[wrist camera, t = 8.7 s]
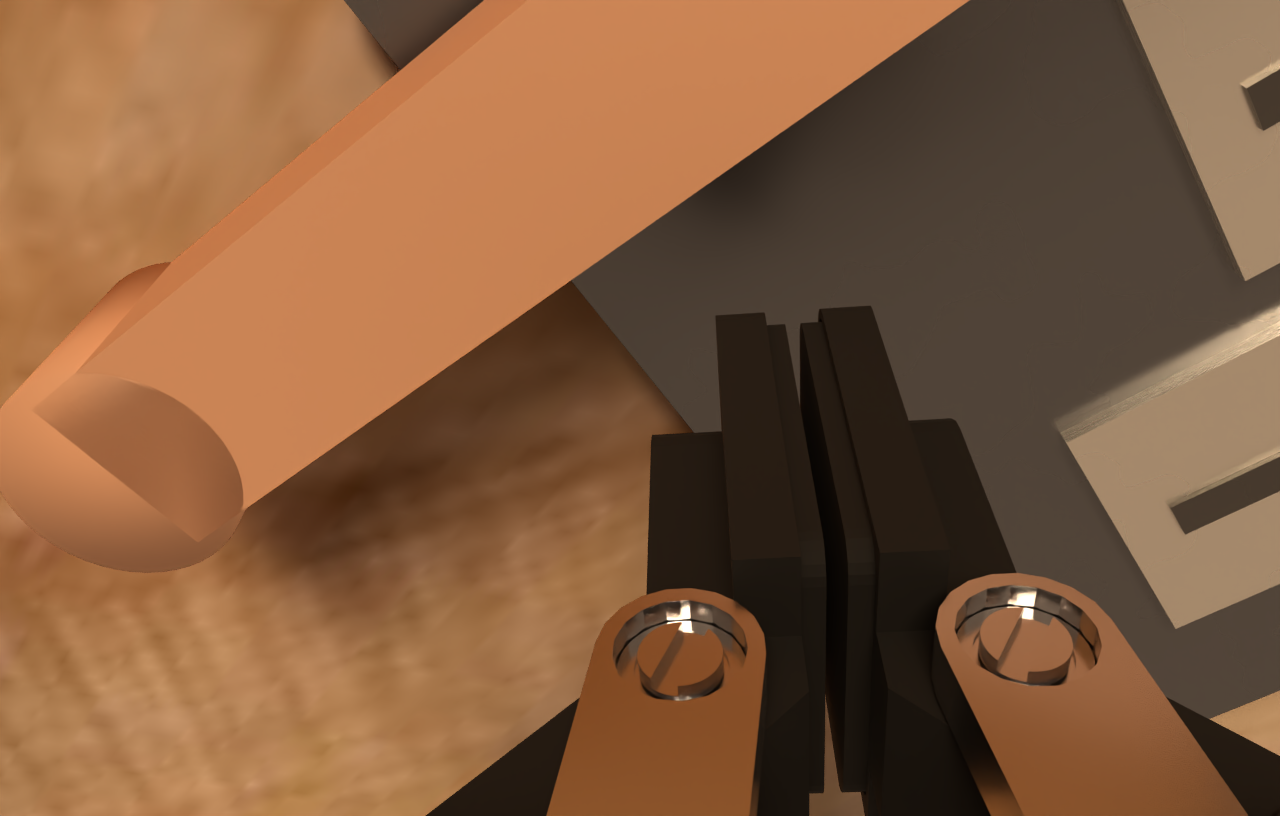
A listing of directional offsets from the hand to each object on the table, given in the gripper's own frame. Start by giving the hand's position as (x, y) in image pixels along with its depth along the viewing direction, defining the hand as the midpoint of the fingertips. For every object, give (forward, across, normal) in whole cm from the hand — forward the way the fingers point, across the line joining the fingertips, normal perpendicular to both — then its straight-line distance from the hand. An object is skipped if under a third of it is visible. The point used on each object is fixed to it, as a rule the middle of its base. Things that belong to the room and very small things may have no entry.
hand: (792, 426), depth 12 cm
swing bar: (+4, +2, -4) cm, 5 cm away
